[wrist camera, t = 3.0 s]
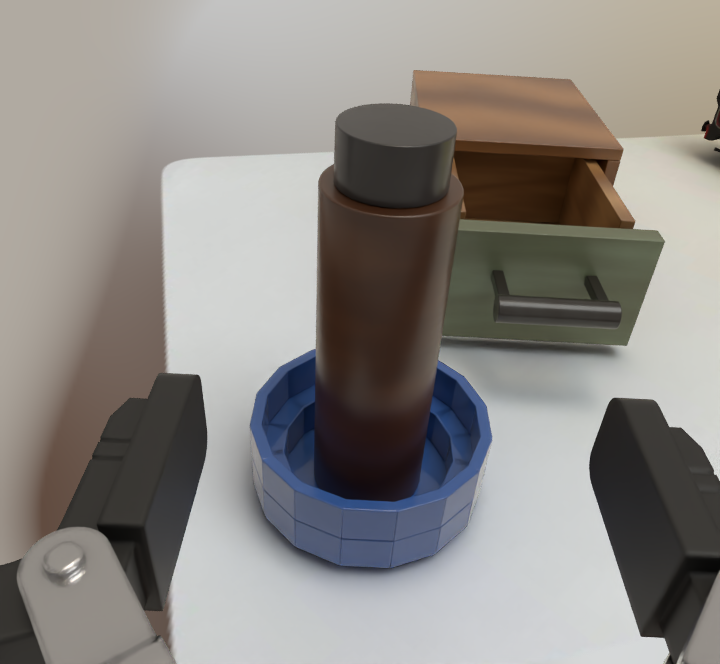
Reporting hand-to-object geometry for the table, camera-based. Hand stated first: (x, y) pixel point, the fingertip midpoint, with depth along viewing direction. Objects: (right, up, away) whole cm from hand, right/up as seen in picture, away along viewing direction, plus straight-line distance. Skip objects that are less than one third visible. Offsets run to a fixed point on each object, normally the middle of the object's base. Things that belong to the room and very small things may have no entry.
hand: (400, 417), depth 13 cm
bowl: (-1, -5, +18) cm, 18 cm away
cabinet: (+9, +11, +40) cm, 42 cm away
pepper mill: (-1, -5, +17) cm, 18 cm away
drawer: (+9, +4, +29) cm, 31 cm away
